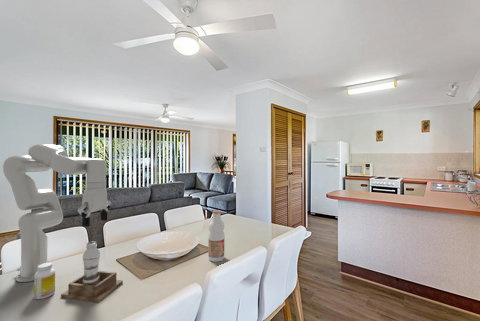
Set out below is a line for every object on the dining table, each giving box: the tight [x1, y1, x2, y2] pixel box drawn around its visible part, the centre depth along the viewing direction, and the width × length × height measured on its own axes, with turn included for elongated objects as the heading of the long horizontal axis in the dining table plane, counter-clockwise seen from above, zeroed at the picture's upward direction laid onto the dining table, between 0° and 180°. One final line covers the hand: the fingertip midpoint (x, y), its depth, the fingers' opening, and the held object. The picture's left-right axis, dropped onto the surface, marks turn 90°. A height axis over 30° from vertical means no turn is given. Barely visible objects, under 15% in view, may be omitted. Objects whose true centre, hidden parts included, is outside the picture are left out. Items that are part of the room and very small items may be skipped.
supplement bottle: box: [33, 262, 56, 300], centre depth 93 cm, size 7×7×13 cm
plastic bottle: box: [82, 240, 101, 286], centre depth 97 cm, size 6×7×20 cm
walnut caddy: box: [60, 270, 124, 303], centre depth 97 cm, size 18×14×5 cm
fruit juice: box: [207, 209, 225, 263], centre depth 129 cm, size 9×9×28 cm
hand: (95, 223), depth 101 cm, fingers open, 9 cm apart
